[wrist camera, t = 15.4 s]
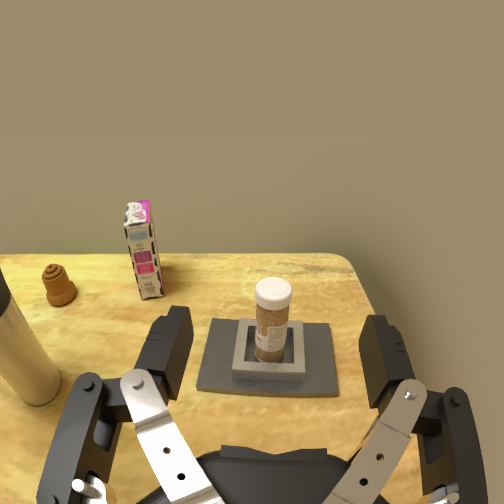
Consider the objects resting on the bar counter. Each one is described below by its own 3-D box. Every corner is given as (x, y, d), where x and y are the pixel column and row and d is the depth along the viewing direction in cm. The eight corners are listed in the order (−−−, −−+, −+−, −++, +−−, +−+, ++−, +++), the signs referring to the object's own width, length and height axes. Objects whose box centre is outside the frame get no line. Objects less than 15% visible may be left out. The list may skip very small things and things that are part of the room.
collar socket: (197, 390, 39) (193, 376, 37) (212, 322, 50) (211, 307, 48) (336, 396, 37) (342, 383, 35) (327, 328, 49) (331, 312, 47)
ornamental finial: (44, 299, 53) (66, 282, 59) (58, 312, 50) (83, 293, 56) (30, 270, 49) (55, 253, 55) (44, 282, 46) (71, 262, 52)
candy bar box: (165, 296, 56) (150, 221, 47) (141, 301, 55) (122, 226, 46) (162, 265, 65) (150, 198, 56) (140, 269, 64) (126, 202, 55)
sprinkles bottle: (251, 346, 45) (251, 278, 37) (279, 340, 46) (285, 273, 38) (259, 369, 41) (261, 302, 34) (288, 362, 42) (298, 295, 35)
